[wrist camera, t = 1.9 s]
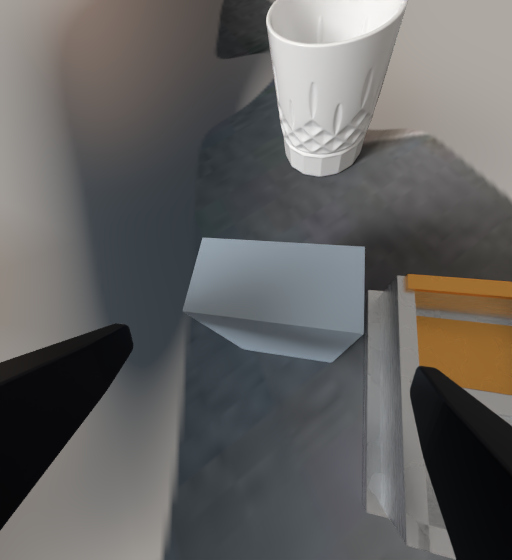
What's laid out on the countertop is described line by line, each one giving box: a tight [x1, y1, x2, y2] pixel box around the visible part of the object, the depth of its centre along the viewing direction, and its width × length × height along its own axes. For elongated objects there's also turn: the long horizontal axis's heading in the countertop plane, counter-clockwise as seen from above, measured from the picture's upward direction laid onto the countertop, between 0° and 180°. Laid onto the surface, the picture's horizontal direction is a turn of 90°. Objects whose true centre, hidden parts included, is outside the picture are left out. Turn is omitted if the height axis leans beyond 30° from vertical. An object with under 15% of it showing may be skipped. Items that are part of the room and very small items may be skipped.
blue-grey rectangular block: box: [183, 238, 365, 363], centre depth 13 cm, size 3×6×10 cm, turn 82°
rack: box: [362, 274, 512, 559], centre depth 13 cm, size 12×11×5 cm
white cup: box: [266, 0, 408, 177], centre depth 19 cm, size 8×8×10 cm
